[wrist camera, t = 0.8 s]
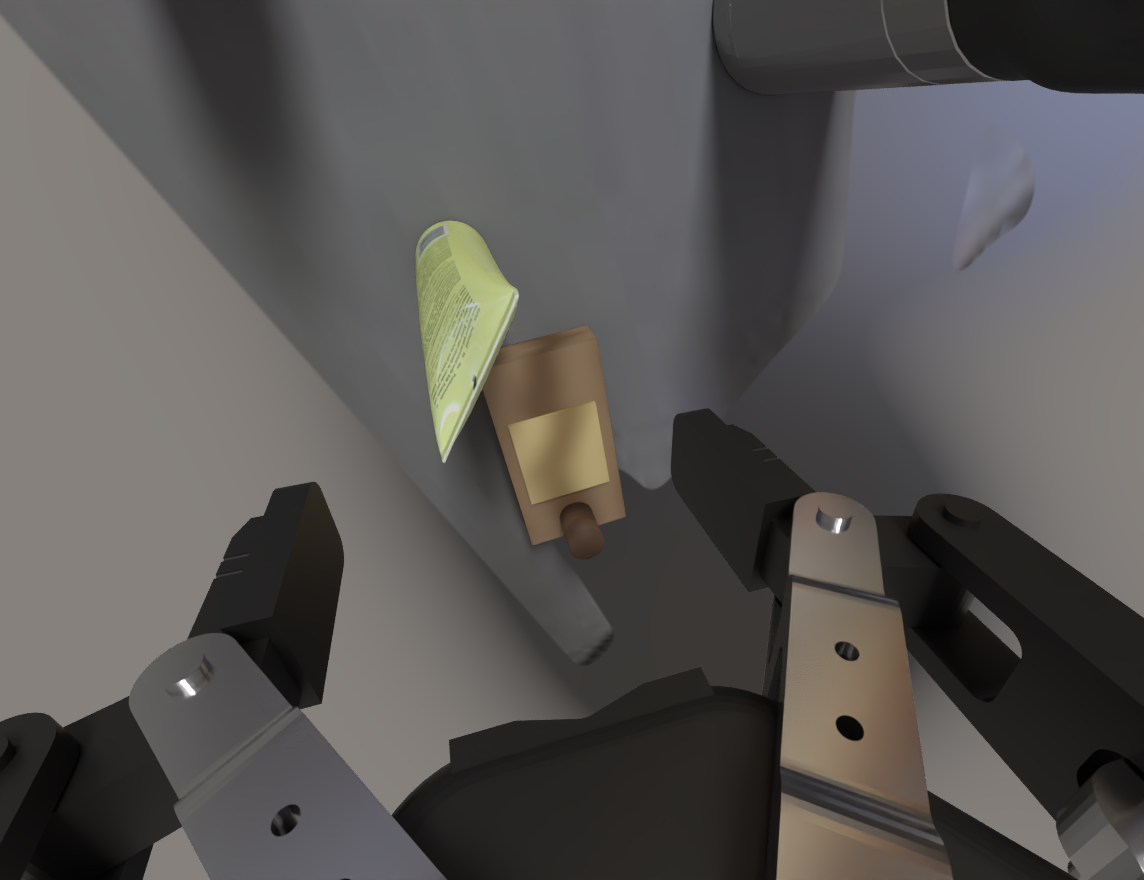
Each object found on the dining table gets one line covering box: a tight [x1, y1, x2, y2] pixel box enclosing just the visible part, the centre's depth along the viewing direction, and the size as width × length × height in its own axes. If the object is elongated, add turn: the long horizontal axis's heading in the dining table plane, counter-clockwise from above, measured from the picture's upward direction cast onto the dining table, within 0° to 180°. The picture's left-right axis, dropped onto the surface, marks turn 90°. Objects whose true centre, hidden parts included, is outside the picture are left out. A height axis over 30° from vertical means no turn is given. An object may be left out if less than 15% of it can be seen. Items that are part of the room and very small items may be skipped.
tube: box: [415, 221, 519, 463], centre depth 27 cm, size 6×5×20 cm
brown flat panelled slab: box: [482, 325, 626, 559], centre depth 42 cm, size 9×18×7 cm, turn 11°
